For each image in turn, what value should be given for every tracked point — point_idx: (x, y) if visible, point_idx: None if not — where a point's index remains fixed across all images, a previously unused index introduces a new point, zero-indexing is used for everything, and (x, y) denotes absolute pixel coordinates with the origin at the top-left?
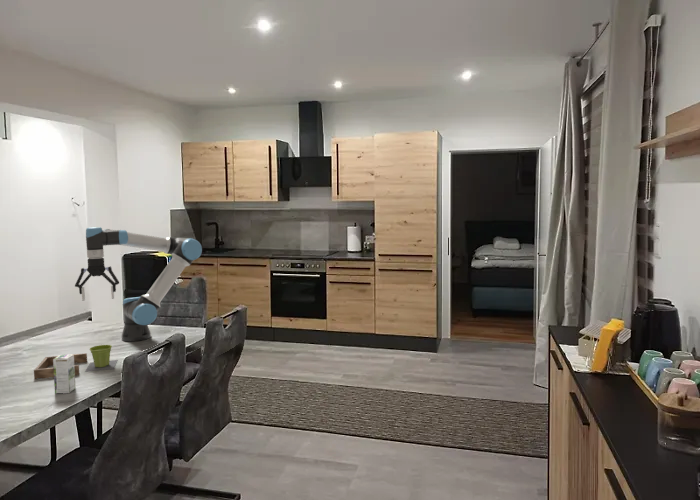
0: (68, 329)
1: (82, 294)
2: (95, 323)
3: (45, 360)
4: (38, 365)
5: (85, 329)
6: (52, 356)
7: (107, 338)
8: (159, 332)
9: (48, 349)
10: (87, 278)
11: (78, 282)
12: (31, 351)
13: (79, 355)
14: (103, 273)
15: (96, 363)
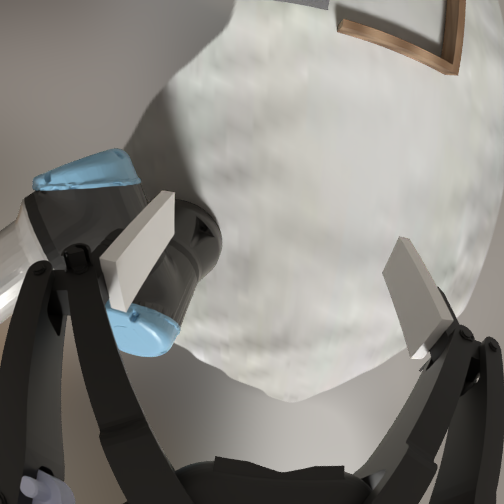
0: (333, 379)
1: (425, 271)
2: (278, 392)
3: (456, 38)
4: (464, 3)
5: (303, 368)
6: (442, 65)
7: (262, 277)
8: None
9: (417, 247)
10: (426, 429)
11: (491, 375)
12: (449, 250)
13: (365, 26)
14: (117, 479)
15: None
